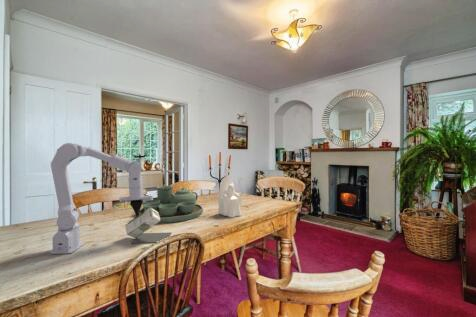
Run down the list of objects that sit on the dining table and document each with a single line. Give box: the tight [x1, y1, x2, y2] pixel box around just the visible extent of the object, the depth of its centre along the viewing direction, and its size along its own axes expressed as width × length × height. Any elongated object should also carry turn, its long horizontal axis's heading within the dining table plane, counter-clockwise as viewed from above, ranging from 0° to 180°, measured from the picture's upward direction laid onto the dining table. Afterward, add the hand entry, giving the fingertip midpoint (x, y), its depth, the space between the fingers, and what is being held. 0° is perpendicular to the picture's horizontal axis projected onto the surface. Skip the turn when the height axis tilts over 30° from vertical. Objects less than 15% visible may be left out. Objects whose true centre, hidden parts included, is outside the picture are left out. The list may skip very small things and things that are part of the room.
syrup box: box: [125, 207, 160, 239], centre depth 108 cm, size 6×6×14 cm
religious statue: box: [217, 167, 251, 218], centre depth 150 cm, size 17×14×30 cm
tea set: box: [139, 185, 204, 224], centre depth 151 cm, size 40×40×16 cm
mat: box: [130, 232, 172, 245], centre depth 109 cm, size 12×15×1 cm
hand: (137, 216), depth 108 cm, fingers closed, pressing on syrup box
